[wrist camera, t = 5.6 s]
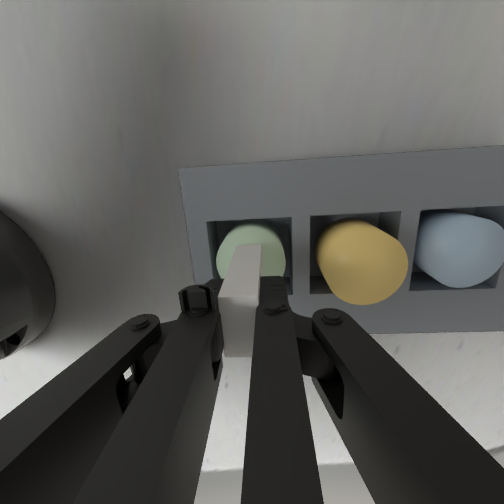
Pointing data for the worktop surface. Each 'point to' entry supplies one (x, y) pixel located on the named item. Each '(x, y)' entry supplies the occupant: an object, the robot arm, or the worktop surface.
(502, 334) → the worktop surface
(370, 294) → the ochre button
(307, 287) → the console
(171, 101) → the worktop surface
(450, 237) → the blue button
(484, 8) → the worktop surface
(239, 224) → the sage button
